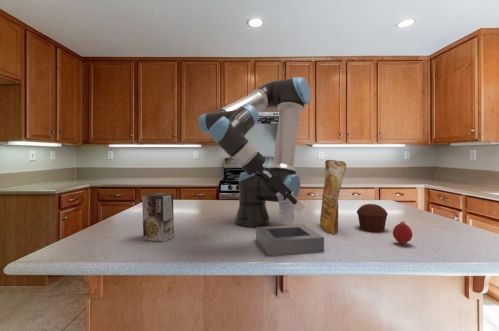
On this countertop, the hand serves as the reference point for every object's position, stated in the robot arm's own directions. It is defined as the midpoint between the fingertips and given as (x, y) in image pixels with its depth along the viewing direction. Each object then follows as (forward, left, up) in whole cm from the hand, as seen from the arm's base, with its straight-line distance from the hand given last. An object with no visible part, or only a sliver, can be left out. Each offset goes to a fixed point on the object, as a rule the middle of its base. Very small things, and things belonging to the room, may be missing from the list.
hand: (296, 207), depth 92 cm
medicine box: (0, -3, -4) cm, 5 cm away
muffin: (-13, +37, -13) cm, 42 cm away
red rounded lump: (+6, +35, -13) cm, 38 cm away
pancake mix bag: (-17, +21, -13) cm, 30 cm away
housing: (-1, -3, -13) cm, 13 cm away
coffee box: (-18, -46, -13) cm, 51 cm away
